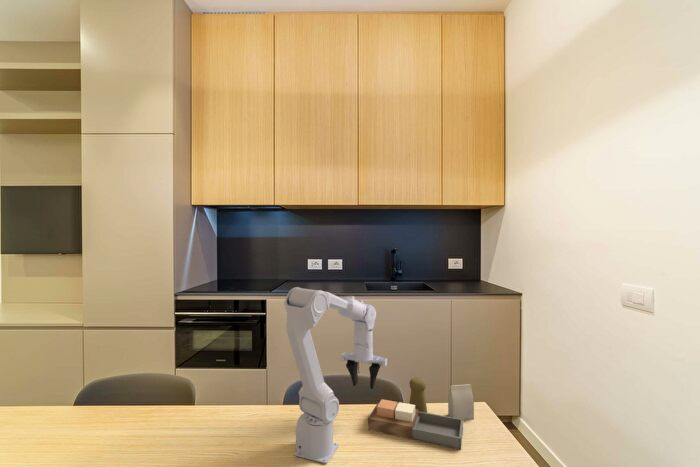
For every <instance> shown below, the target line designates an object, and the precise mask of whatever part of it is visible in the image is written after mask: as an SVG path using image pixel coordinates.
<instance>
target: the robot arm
mask: <svg viewBox="0 0 700 467" xmlns="http://www.w3.org/2000/svg"><path fill="white" fill-rule="evenodd" d="M355 297H356V296H354V295H348V296H344V297H342V298H341V297H339V296H338V295H336V294H334V293H331V292H328V291H323V290H321V289H320V290H318V289H317V290H316V289H311V288H310V289H308V288H303V287H299V286H297V287H296V286H295V287H293V288H291V289H290V290H289V291H288V293H287V295H286V297H285V299H284V302H283V305H284V308H285V311H286V325H285V326H286V327H285V328H286V329H285V330H286V333H287V334H286V335H287V337H288V340H289V344H290V347H291V350H292V351H291V352H292V354H293V357H294V361H295V363H296V367H297V370H298V375H299V378H300V380H301V384H302V386H301V387H300V390H299V391H298V396H299V400H298V401H299V404H298V405H299V410H300V411H301V412H302V414H300V415H299V417H298V419H297V422H296V426H295V452H294V453H293V454H294V456H295V457H299V458H303V459H307V460H310V461H314V462H318V463H322V464H328V463H329V461H330V459H332V457H333V455H334V454H335V453H336V451H337V449H339V446H340V444H339V443H337V442H334V427H333V426H334V420H335V419H336V418H337V416H338V414H339V410H340V401H339V399H338V398H337V397H336V396H335V394H334V393H335V392H334V391H333V390H332V388H331V387H330V386H329V385H328V384H327V383H326V382H325V379H324V375H323V372H322V369H321V365H320V362H319V359H318V355H317V351H316V348H315V344H314V340H313V336H312V333H311V329H313V328H315V327H316V326H317V324H318V322H319V321H320V320H321V318H322V317H323V315H324V314H325V312H326V310H328V309H330V308H331V309H335V310H337V311H338V314H339V315H340V316H342V317H345V318H348V319H351V321H352V322H353V325H354V328H353V331H354V332H353V333H354V338H353V339H354V343H353V344H354V350H353V351H354V352H343V353H341V355H340V361H342V362H345V361H346V364H345V367H346V369H347V370H348V373H349V375H350V377H351V381H352V382H351V383H352V386H353V387H356V386H357V385H358V382H359V381H358V380H359V379H358V377H359V376H358V369H359V363H360V364H361V363H362V364H368V365H370V366H369V367H368V370H369V377H370V381H369V382H370V383H369V384H370V385H369V387H370V389H372V390H373V389H374V388H375V385H376V380H377V377H378V374H379V370H380V369H381V366H382V367H384V368H386V367H387V365H388V358H386V357H382V356H378V355H375V354H374V351H373V350H374V346H373V345H374V344H373V342H374V340H373V339H374V338H373V336H374V335H373V332H374V331H373V330H374V327H375V321H376V318H377V311H376V308H375V307H374V306H373V305H372V304H368V303H364V301H363V300H356V299H355Z"/></svg>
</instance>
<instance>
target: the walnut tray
mask: <svg viewBox="0 0 700 467" xmlns="http://www.w3.org/2000/svg"><path fill="white" fill-rule="evenodd" d="M379 403H380V401H379V402H377V403H376V405H375V406H374V407H373V410H372V411H371V413H370V414H369V416H368V418H367V426H368V427H367V428H368V429H367V430H368V431H372V432H374V433H375V432H376V433H381V434H385V435H390V436H394V437H399V438H404V439H408V440H413V439H412V428H414V426H415V423H416V420H417V418H418V411H419V410H418V409H415V416H414V418H413V421H412V422H410V421H404V420H399V419H395V416H394V418H389V417H384V416H379V415H377V406H378V404H379Z"/></svg>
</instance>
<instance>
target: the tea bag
mask: <svg viewBox="0 0 700 467" xmlns="http://www.w3.org/2000/svg"><path fill="white" fill-rule="evenodd" d="M474 401H475V400H474V393H473V390H472V384H470V383H469V384H466V383H465V384H454V385H450V386H449V390H448V395H447V407H448V408H447V412H448V417H453V418H458V419H463V421H469V420H470V421H471V420H474V419H475V402H474Z"/></svg>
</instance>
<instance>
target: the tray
mask: <svg viewBox="0 0 700 467" xmlns="http://www.w3.org/2000/svg"><path fill="white" fill-rule="evenodd" d="M463 432H464V420H463V419H458V418H453V417H450V416H447V415H443V414H442V415H441V414H435V413H429V412H427V413H425V412H420V411H418V418H417V420H416V423H415V426H414V428H412V439H411V440H413V441H417V442H418V441H419V442H423V443H427V444H433V445H435V446H436V445H438V446H442V447H446V448H451V449H456V450H460V451H461V450H462V445H463V444H462V442H463V436H464V434H463Z"/></svg>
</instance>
